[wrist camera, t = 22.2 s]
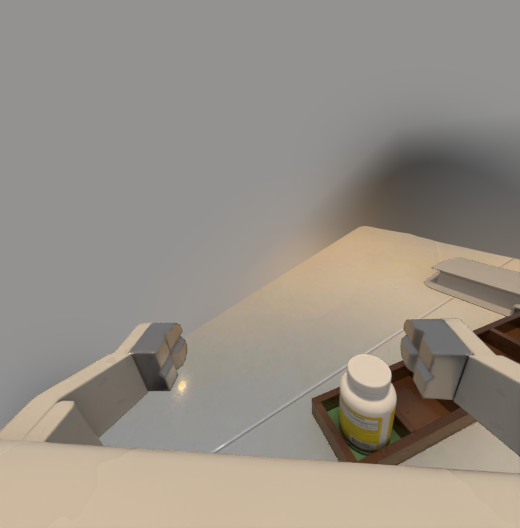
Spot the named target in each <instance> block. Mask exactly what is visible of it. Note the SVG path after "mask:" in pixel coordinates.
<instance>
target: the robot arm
mask: <svg viewBox="0 0 520 528" xmlns="http://www.w3.org/2000/svg"><path fill="white" fill-rule="evenodd" d="M403 329H404V331H405V333H406V334H407V335H406V336H405V337H403V338H402V339H401V355H402V358H403V361H404V363H405V365H406V367H407V368H408V369H409V370H411V371H412V372H413V373H414V376H413V381H414V383H415V385H416V386H417V388H418V390H419V392H420V394H421V396H422V398H429V399H447V400H454V402H455V403H456V404H457V405H459V406H460V407H461V408H462V409H463V410H465V411H466V412H467V413H468V414H469V415H471V416H472V417H473V418H474V419H475V420H477V421H478V422H479V423H480V424H481V425H483V426H484V427H485V428H486V429H487V430H489V431H490V432H491V433H492V434H493V435H495V436H496V437H497V438H498V439H499V440H501V441H502V442H503V443H504V444H505V445H507V446H508V447H509V448H510V449H511V450H513V451H514V452H515V453H516V454H517V455H519V456H520V364H518V363H516V362H514V361H512V360H510V359H508V358H506V357H504V356H496V355H495V354H494V353H493V352H492V351H491V350H490V349H489V348H488V347H487V346H486V345H485V344H484V343H483V341H482V340H481V339H480V338H479V337H478V336H477V335H476V334H475V333H474V332H473V331H472V330H471V329H470V328H469V327H468V326H467V325H466V324H465V323H464V322H463V321H462V320H460V319H458V318H440V319H412V320H406V322H405V323H404V328H403ZM181 333H182V328H181V326H180V324H178V323H141V324H139V325H138V326H137V327H136V328H135V329H134V330H133V332H132V333H131V334H130V335H129V336H128V338H127V339H126V340H125V341H124V342H123V343H122V345H121V346H120V347H119V348H118V349H117V351H116V352H115V353H114V354H109V355H107V356H105V357H104V358H102V359H100V360H98V361H97V362H95V363H93V364H91V365H90V366H88V367H86V368H84V369H83V370H81V371H79V372H78V373H76V374H74V375H72V376H71V377H69V378H67V379H65V380H64V381H62V382H60V383H59V384H57V385H55V386H53V387H52V388H50V389H48V390H47V391H45V392H43V393H41V394H40V395H38V396H36V397H35V398H33V399H32V400H31V401H30V402H29V403H28V404H27V405H26V406H25V407H24V408H23V409H22V410H21V411H20V412H19V413H18V414H17V415H16V416H15V417H14V418H13V419H12V420H11V421H10V422H9V423H8V424H7V425H6V426H5V427H3V429H2V430H0V528H520V474H518V473H503V472H487V471H472V470H457V469H442V468H427V467H412V466H397V465H381V464H366V463H351V462H336V461H321V460H306V459H290V458H275V457H260V456H245V455H229V454H214V453H199V452H184V451H169V450H154V449H139V448H124V447H109V446H103V444H102V443H101V441H100V440H99V437H100V436H102V435H103V434H104V433H105V432H106V431H107V430H108V429H109V428H110V427H111V426H112V425H114V424H115V423H116V422H117V421H118V420H119V419H120V418H121V417H122V416H123V415H124V414H125V413H127V412H128V411H129V410H130V409H131V408H132V407H133V406H134V405H135V404H136V403H137V402H138V401H140V400H141V399H142V398H143V397H144V396H145V395H146V394H147V393H148V391H171V389H172V387H173V385H174V383H175V381H176V379H177V376H178V373H177V369H179V368H180V367H181V366H183V364H184V362H185V360H186V355H187V344H186V341H185V339H183V338H182V337H181V336H180V335H181Z"/></svg>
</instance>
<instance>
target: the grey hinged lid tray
mask: <svg viewBox="0 0 520 528" xmlns="http://www.w3.org/2000/svg"><path fill="white" fill-rule="evenodd" d="M432 268H433V269H436V270H439V272H437V273H435V274H434V275H432V276H430V277H429V278H427V279H426V280H425V281H424V283H425V285H426V286H428V287H430V288H432V289H435V290H437V291H440V292H443V293H445V294H448V295H451V296H454V297H456V298H459V299H462V300H464V301H467V302H470V303H472V304H475V305H478V306H481V307H483V308H486V309H489V310H491V311H494V312H497V313H499V314H502V315H505V316H510V315H512V314H514V313H517V312H519V311H520V272H516V271H512V270H508V269H504V268H500V267H496V266H492V265H488V264H484V263H480V262H476V261H472V260H468V259H464V258H452V259H449V260H446V261H443V262H441V263H439V264H437V265H435V266H433V267H432Z"/></svg>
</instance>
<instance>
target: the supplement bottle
mask: <svg viewBox="0 0 520 528" xmlns="http://www.w3.org/2000/svg"><path fill="white" fill-rule="evenodd" d="M391 377H392V375H391V370H390V368H389V367H388V365H387V364H386V363H385V362H384V361H382V360H381V359H379V358H377V357H375V356H372V355H366V354H361V355H357V356H354V357H353V358H351V359H350V361H349V362H348V367H347V372H346V373H345V374H344V375H343V376H342V378H341V381H340V402H339V426H340V430H341V433H342V436H343V437H344V439H345V440H346V442H347V443H348V444H349V445H350V446H351V447H352V448H353V449H355V450H356V451H358V452H360V453H363V454H366V455H370V454H372V453H374V452H376V451H378V450H380V449H382V448H384V447H386V446H387V445H389V442H390V438H391V432H392V426H393V420H394V414H395V408H396V401H397V396H396V391H395V389H394V387H393V385H392V383H391Z"/></svg>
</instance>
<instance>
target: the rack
mask: <svg viewBox="0 0 520 528" xmlns="http://www.w3.org/2000/svg"><path fill="white" fill-rule="evenodd" d="M473 332H474V333H475V334H476V335H477V336H478V337H479V338H480V339H481V340H482V341H483V343H484V344H485V345H486V346H487V347H488V348H489V349H490V350H491V351H492V352H493V353H494V354H495V355H496V356H504V357H506V358H508V359H510V360H512V361H514V362H516V363H518V364H520V311H519V312H517V313H514V314H512V315H510V316H507V317H505V318H503V319H500V320H498V321H495V322H493V323H491V324H488V325H486V326H483V327H481V328H479V329H476V330H474V331H473ZM388 367H389V368H390V370H391V375H392V377H391V383H392V385H393V387H394V389H395V391H396V396H397V401H396V408H395V414H394V420H393V426H392V432H391V438H390V442H389V445H387V446H386V447H384V448H382V449H380V450H378V451H376V452H374V453H372V454H370V455H366V454H363V453H360V452H358V451H356V450H355V449H353V448H352V447H351V446H350V445H349V444H348V443H347V442H346V440H345V439H344V437H343V436H342V433H341V430H340V426H339V402H340V387H338V388H336V389H334V390H331V391H329V392H326V393H324V394H322V395H319V396H317V397H315V398H312V414H313V416H314V417H315V419H316V421H317V423H318V424H319V426H320V428H321V430H322V431H323V433H324V435H325V437H326V439H327V440H328V442H329V444H330V446H331V447H332V449H333V451H334V453H335V455H336V456H337V458H338V460H339V462H351V463H366V464H381V465H398V464H400V463H402V462H404V461H405V460H407V459H409V458H411V457H413V456H414V455H416V454H418V453H420V452H422V451H424V450H425V449H427V448H429V447H431V446H433V445H434V444H436V443H438V442H440V441H442V440H443V439H445V438H447V437H449V436H451V435H453V434H454V433H456V432H458V431H460V430H462V429H463V428H465V427H467V426H469V425H471V424H473V423H474V422H476V421H477V420H475V419H474V418H473V417H472V416H471V415H469V414H468V413H467V412H466V411H465V410H463V409H462V408H461V407H460V406H459V405H457V404H456V403H455V402H454V400H447V399H429V398H422V396H421V394H420V392H419V390H418V388H417V386H416V385H415V383H414V381H413V376H414V373H413V372H412V371H411V370H409V369H408V368H407V367H406V365H405V363H404V361H400V362H398V363H395V364H393V365H391V366H388Z"/></svg>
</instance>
